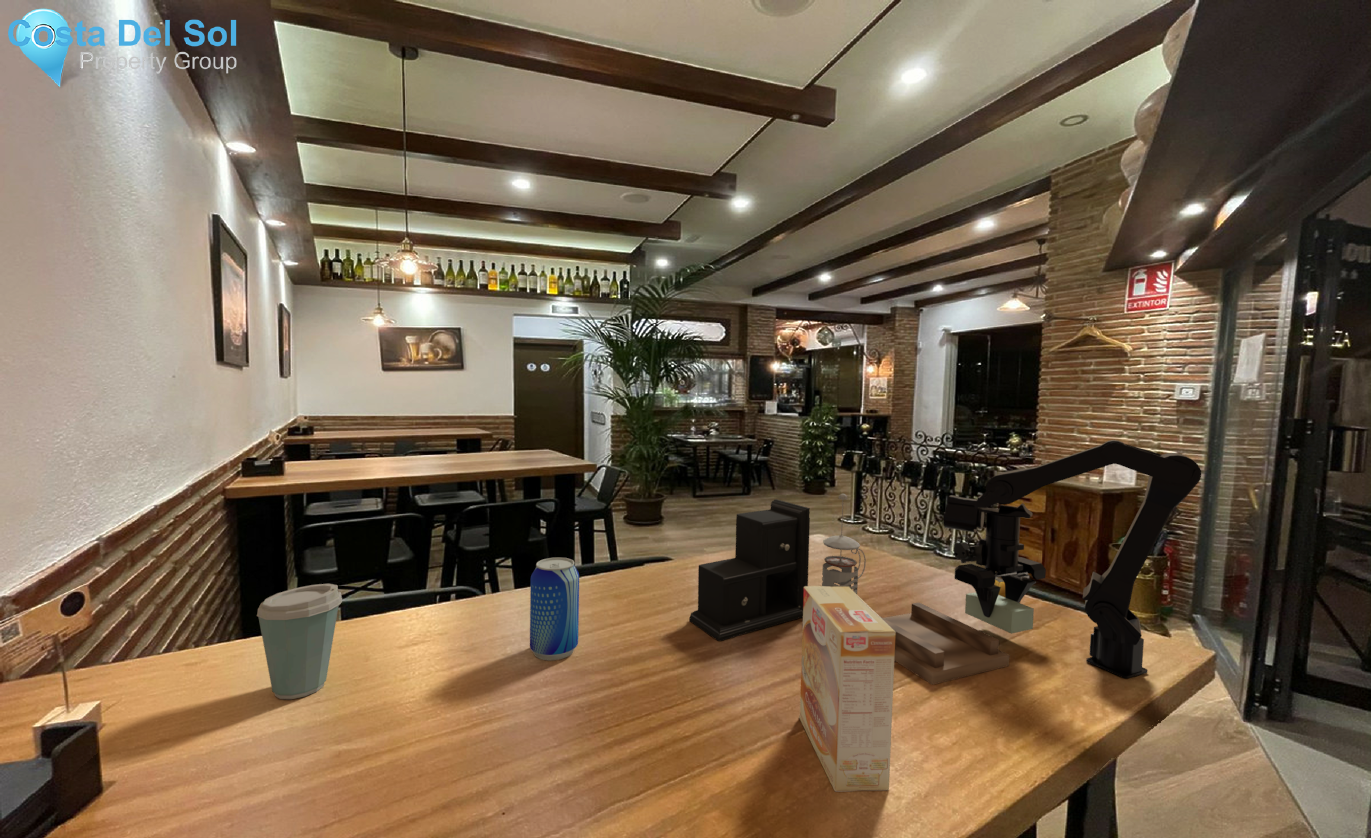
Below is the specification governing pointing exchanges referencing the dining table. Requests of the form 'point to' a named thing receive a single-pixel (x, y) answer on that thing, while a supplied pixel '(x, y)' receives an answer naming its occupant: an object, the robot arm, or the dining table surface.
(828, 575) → the french press
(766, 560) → the black drawer cabinet
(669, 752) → the dining table surface
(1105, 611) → the robot arm
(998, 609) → the pale green block
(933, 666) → the brown wooden stand
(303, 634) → the disposable coffee cup
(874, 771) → the coffeecake box
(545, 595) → the beer can
